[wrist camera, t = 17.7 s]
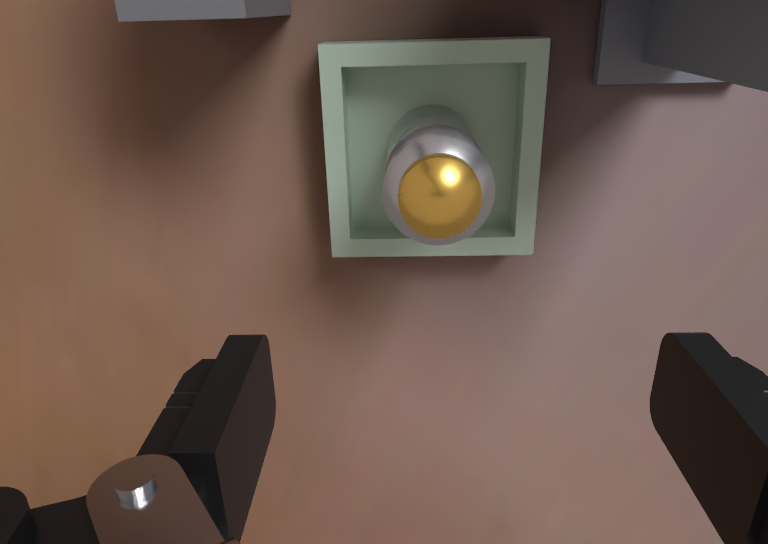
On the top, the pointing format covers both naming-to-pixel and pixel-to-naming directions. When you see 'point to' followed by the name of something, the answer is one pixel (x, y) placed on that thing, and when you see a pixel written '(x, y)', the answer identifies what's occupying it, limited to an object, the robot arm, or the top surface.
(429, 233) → the cylinder
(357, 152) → the parts tray
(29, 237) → the top surface
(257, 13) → the grey block
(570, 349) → the top surface
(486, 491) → the top surface
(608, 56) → the wall unit
